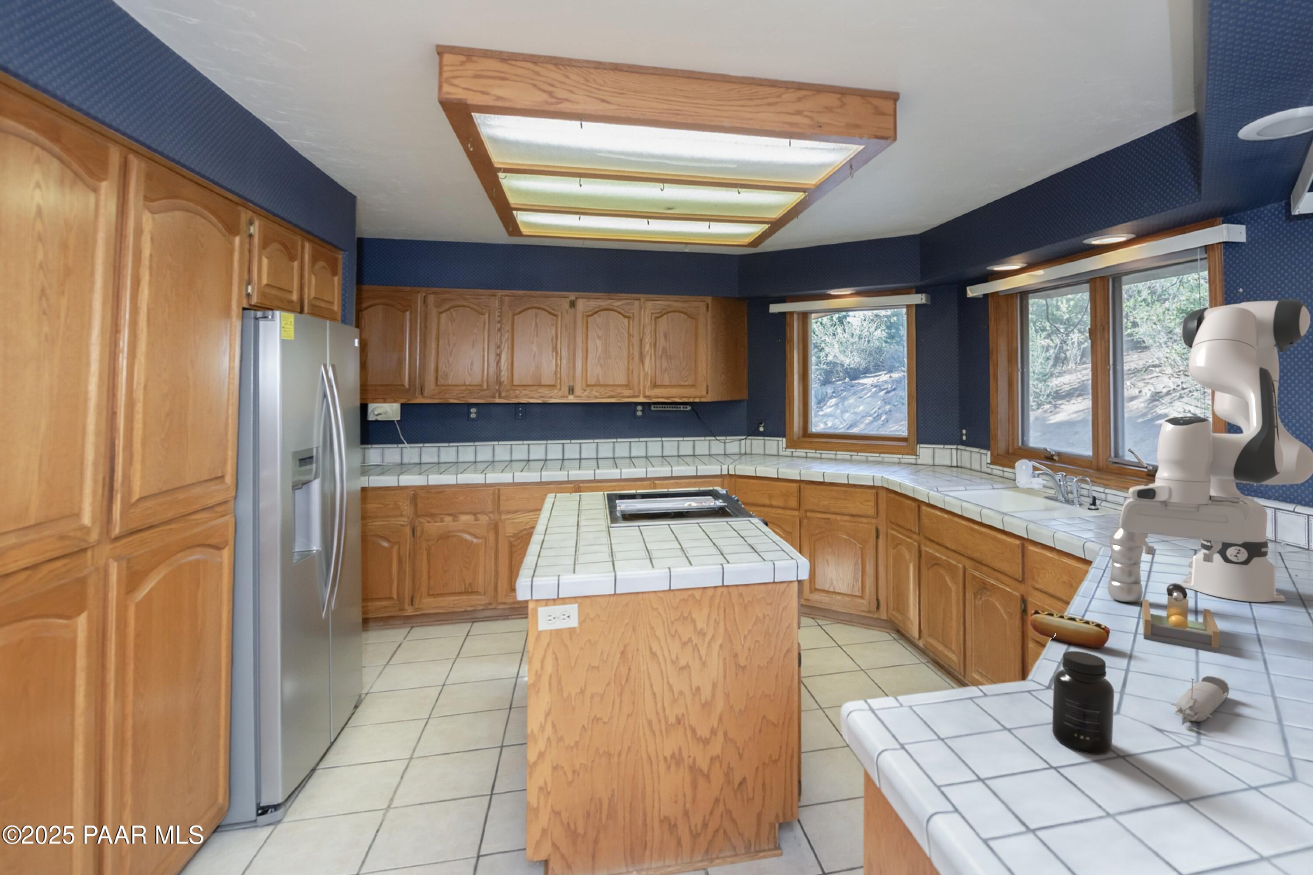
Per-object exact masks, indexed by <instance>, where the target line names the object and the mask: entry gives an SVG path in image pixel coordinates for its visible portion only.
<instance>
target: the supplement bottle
mask: <svg viewBox="0 0 1313 875" xmlns="http://www.w3.org/2000/svg"><path fill="white" fill-rule="evenodd" d="M1106 664H1107V663H1106V660H1104V659H1103V658H1102V657H1100V656H1098V655H1096V654H1092V653H1088V652H1084V651H1079V650H1078V651H1077V650H1070V651H1069V650H1068V651H1066V652H1063V656H1062V663H1061V667H1062V668H1063V669H1060V670H1058V671H1057V672H1056V673H1055V674H1054V675H1053V676H1054V677H1053V689H1052V692H1053V697H1052V720H1051V721H1052V727H1051V728H1052V729H1051V730H1052V735H1053V736H1054V738H1055V739H1056V740H1057V741H1058V742H1059V743H1060V744H1062V745H1064V747H1065V746H1066V747H1067V748H1069V749H1072V750H1074V751H1078V752H1081V753H1084V754H1090V755H1103V754H1107V753H1109V752H1110V751H1111V749H1112V746H1113V733H1114V730H1113V729H1114V705H1115V704H1114V700H1115V690H1114V687H1113V685H1112V684H1111V681H1109V680H1108V679H1106V677H1107V669H1106Z"/></svg>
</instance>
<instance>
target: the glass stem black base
mask: <svg viewBox="0 0 1313 875" xmlns="http://www.w3.org/2000/svg"><path fill="white" fill-rule="evenodd" d="M1186 589H1187V588H1185V587H1183V586H1182V585H1181V583H1176V582H1175V583H1170V584H1168V585H1167V586H1166V594H1167V602H1166V603H1167V604H1166V605H1167V606H1166V616H1167V621H1168V622H1169V618H1170V617H1171V616H1174V615H1179V616H1182V617H1184V618H1185V619H1186V620H1189V619H1188V618H1189V616H1188V615H1189V601H1190V600H1189V598H1188V597H1187V596H1188V592H1187V590H1186Z"/></svg>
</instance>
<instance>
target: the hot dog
mask: <svg viewBox="0 0 1313 875" xmlns="http://www.w3.org/2000/svg"><path fill="white" fill-rule="evenodd" d="M1029 624H1030V626H1031V628H1032V629H1033V630H1034V632H1035V633H1037V634H1039V635H1040V636H1043V637H1047V638H1050V639H1053V637H1054V635H1055V633H1056V636H1055V637H1054V640H1056V641H1060V642H1064V643H1068V644H1072V645H1076V646H1083V647H1087V648H1092V649H1095V648H1103V647H1105V645H1106V644H1107V642H1108V641H1109V638H1110V633H1111V629H1110V628H1109V627H1108V626H1106V625H1104V624H1102V623H1099V622H1097V621H1094V620H1089V619H1085V618H1081V617H1076V616H1072V615H1067V614H1063V613H1059V612H1058V613H1057V612H1052V611H1048V610H1047V611H1046V610H1045V611H1044V610H1037V609H1035V610H1032V611H1031V612H1030V618H1029Z"/></svg>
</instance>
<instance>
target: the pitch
mask: <svg viewBox="0 0 1313 875" xmlns="http://www.w3.org/2000/svg"><path fill="white" fill-rule="evenodd" d="M1141 603H1142V605H1141V621H1142V622H1141V623H1142V634H1143V639H1144V640H1148V641H1153V642H1154V641H1155V642H1158V643H1164V644H1169V643H1170V644H1169V645H1175V646H1179V645H1180V647H1185V646H1186V648H1191V649H1196V650H1201V651H1206V650H1207V652H1211V651H1213V652H1212V653H1216V652H1217V653H1218V654H1219V653H1220V639H1221V638H1220V636H1221V632H1220V629H1219V627H1218V625H1217V624H1218V623H1216V620H1215V619H1214V615H1213V613H1212V611H1211V609H1210V608H1208V609H1207V608H1203V615H1202V621H1197V620H1190V619H1188V620H1187V622H1188V627H1187V628H1186V629H1181V628H1176V627H1171V626H1170V625H1169V622H1168V621H1167V615H1161V614H1154V613H1151V609H1150V608H1151V607H1150V601H1149V599H1144V598H1142V602H1141Z"/></svg>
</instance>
